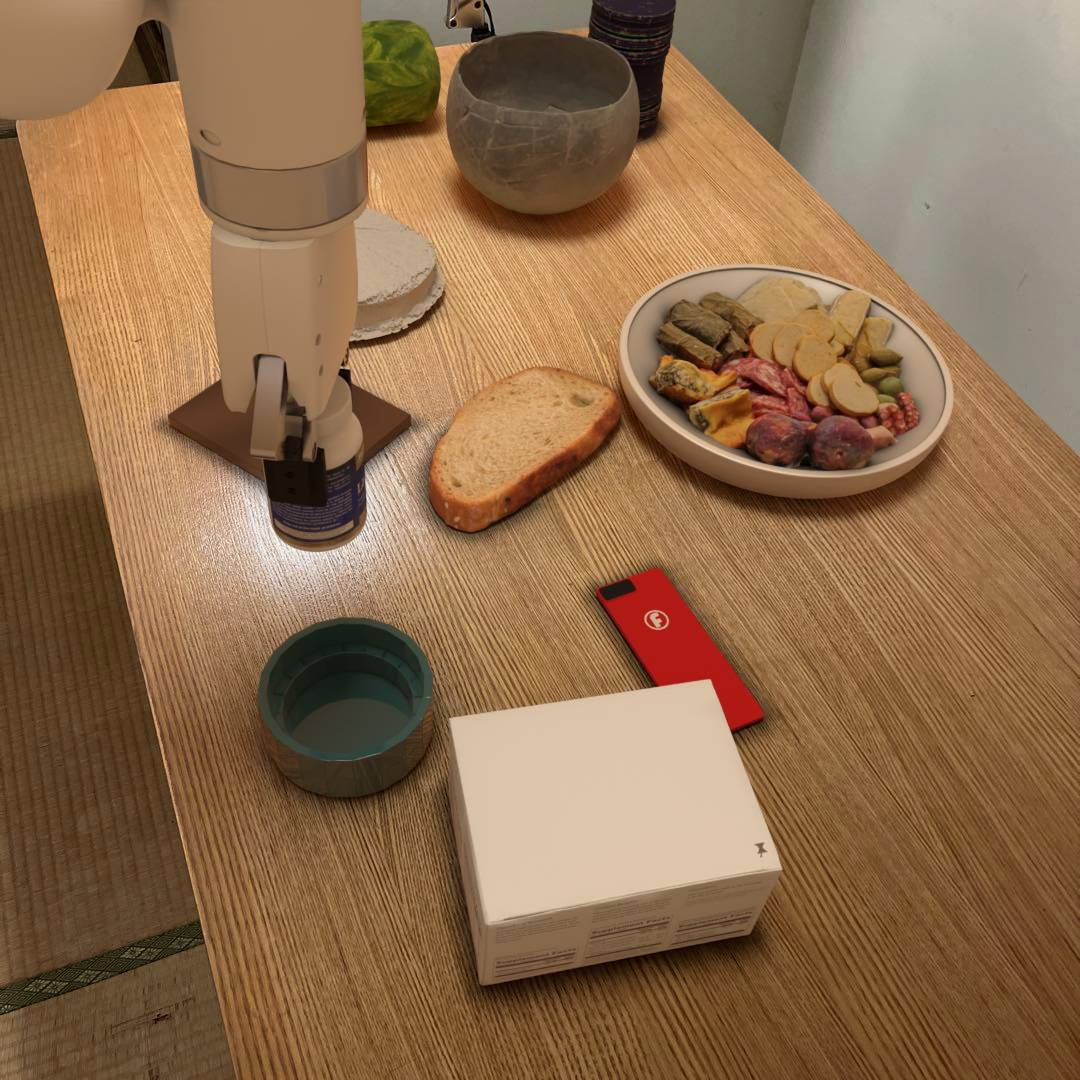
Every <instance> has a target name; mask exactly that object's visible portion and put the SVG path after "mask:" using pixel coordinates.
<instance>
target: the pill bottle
mask: <svg viewBox="0 0 1080 1080" xmlns="http://www.w3.org/2000/svg"><path fill="white" fill-rule="evenodd" d="M288 396H289V397H293V396H292V394H291V392H290V391H289V389H288ZM284 430H285V435H288V436H296V437H301V438H302V417H297V416H289V415H286V416H285V427H284ZM318 447H320V448H324V451H325V461H326V472H327V483H328V494H329V498H328V502H327V505H326V506H325V507H313V506H305V505H297V504H288V503H280V502H274V501H272V500H270V498H269V497H268V491H267V485H266V478H265V472H264V465H263V459H261V460H262V467H263V473H264V480H265V482H264V486H265V491H266V492H265V494H266V500H267V506H268V507H267V508H268V515H269V521H270V524H271V527H272V530H273V532H274V533H275V535H276V536H277V538H278V539H279V540H281V541H282V542H283V543H284V544H286V545H287V546H289V547H291V548H293V549H296V550H298V551H303V552H307V553H325V552H329V551H330V552H331V551H333V550H337V549H340V548H342V547H344V546H347V545H348V544H350V543H351V542H352V541H354V540H355V539H356V538H357V537H358V536H359V535H360V534H361V532H362V531H363V529H364V527H365V525H366V522H367V517H368V505H367V503H368V502H367V501H368V500H367V485H366V484H367V483H366V465H365V464H366V463H364V446H363V433H362V428H361V425H360V422H359V420H358V418H357V417H356V416H355V414H354V413H353V412H352V398H351V391H350V388H349V386H348V384H347V383H346V381H345V380H344V379H343V378H342V377H340V376H339V375H337V378H336V381H335V384H334V387H333V389H332V392H331V395H330V398H329V400H328V403H327V405H326V407H325V409H324V411H323V412H322V413H321V414H320V415H319V416H318Z"/></svg>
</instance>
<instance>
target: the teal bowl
mask: <svg viewBox="0 0 1080 1080" xmlns="http://www.w3.org/2000/svg"><path fill="white" fill-rule="evenodd" d="M256 696H257V697H256V698H257V702H258V705H259V712H260V716H261V720H262V725H263V729H264V734H265V738H266V743H267V747H268V753H269V755H270V757H271V759H272V760H273V762H274V763H275V765H276V766H277V768H278V769H279V770H280V772H281V774H283V776H285V778H287V779H288V780H290V781H291V782H292V783H294V784H295V785H297V786H298V787H300V788H301V789H303V790H306V791H309V792H311V793H315V794H319V795H322V796H325V797H329V798H359V797H363V796H366V795H370V794H373V793H378V792H380V791H381V792H382V791H384V790H386V789H387V788H389V787H391V786H392V785H394V784H395V783H397V782H399V781H400V780H402V779H403V778H405V777H406V776H408V775H409V773H410V772H411V771H412V770H413V769H414V768H415V767H416V765H417V764H418V763H419V762H420V761H421V760H422V758H424V755H425V754H426V751H427V749H428V746H429V743H430V741H431V739H432V737H433V728H434V674H433V671H432V669H431V665H430V662H429V660H428V657H427V655H426V653H425V652H424V651H423V649H422V648H421V647H420V646H419V644H417V643H416V641H415V640H414V639H413V638H412V637H411V636H410V635H408V634H407V633H406V632H404V631H402V630H401V629H399V628H398V627H396V626H394V625H393V624H390V623H387V622H384V621H379V620H376V619H372V618H369V617H359V616H358V617H356V616H341V617H340V616H339V617H334V618H330V619H326V620H322V621H321V620H320V621H317V622H313V623H312V624H310V625H308V626H306V627H304V628H302V629H300V630H299V631H296V632H294V633H293V634H291V635H290V636H289V637H288V638H287V639H285V640H284V641H283V642H282V643H281V644H280V645H279V646H278V647H276V648H275V649H274V650H273V651H272V652H271V655H270V656H269V658H268V660H267V661H266V664H265V665H264V667H263V668H262V671H261V672H260V677H259V682H258V688H257V693H256Z"/></svg>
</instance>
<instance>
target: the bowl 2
mask: <svg viewBox="0 0 1080 1080" xmlns="http://www.w3.org/2000/svg"><path fill="white" fill-rule="evenodd" d="M617 366H618V374H619V380H620V382H621V386H622V389H623V392H624V394H625V397H626V399H627V402H628V403H629V406H630V407H631V409H632V410H633V413H634V414H635V416H636V417H637V418H638V420H639V421H640V423H641V424H642V425H643V427H645V429H646V430H647V431H648V432H649V433H650V434H651V436H652V437H653V438H654V439H655V440H656V441H657V442H658V443H659V444H661V445H662V446H663V447H664V448H665V449H667V450H668V451H669V452H670V453H671V454H673V455H674V456H676V457H677V458H678V459H680V460H681V461H682V462H684V463H686V464H687V465H688V466H690V467H692V468H694V469H696V470H698V471H699V472H700V473H703V474H705V475H707V476H709V477H711V478H713V479H715V480H718V481H721V482H723V483H726V484H728V485H731V486H734V487H737V488H739V489H743V490H746V491H750V492H753V493H758V494H761V495H762V494H763V495H767V496H772V497H778V498H779V497H781V498H788V499H798V500H799V499H800V500H801V499H803V500H820V499H821V500H823V499H835V498H842V497H848V496H853V495H858V494H862V493H866V492H870V491H872V490H875V489H877V488H881V487H883V486H885V485H888V484H890V483H892V482H894V481H896V480H898V479H899V478H902V477H903V476H904V475H906V474H908V473H909V472H910V471H912V470H913V469H914V468H916V467H917V466H918V465H920V463H921V462H923V461H924V460H925V459H926V458H927V456H928V455H930V453H931V452H932V451H933V450H934V449H935V447H936V446H937V444H938V443H939V442H940V440H941V438H942V436H943V434H944V433H945V431H946V428H947V427H948V424H949V423H950V420H951V418H952V414H953V410H954V402H955V390H954V384H953V379H952V375H951V373H950V370H949V367H948V365H947V363H946V361H945V359H944V357H943V355H942V354H941V352H940V350H939V349H938V348H937V346H936V344H934V342H933V341H932V340H931V338H930V337H929V336H928V335H927V334H926V333H925V332H924V331H923V330H922V328H921V327H919V325H917V324H916V323H915V322H914V321H912V320H911V319H910V318H909V317H908V316H907V315H905V314H904V313H903V312H901V311H900V310H898V309H897V308H896V307H894V306H893V305H891V304H890V303H888V302H887V301H885V300H883V299H882V298H880V297H878V296H876V295H875V294H872V293H870V292H868V291H867V290H865V289H862V288H859V287H858V286H855V285H853V284H851V283H848V282H845V281H843V280H840V279H837V278H835V277H832V276H829V275H825V274H821V273H818V272H814V271H810V270H806V269H803V268H797V267H792V266H791V267H790V266H785V265H777V264H767V263H727V264H725V263H724V264H717V265H711V266H705V267H700V268H697V269H692V270H689V271H686V272H682V273H679V274H677V275H674V276H672V277H670V278H667V279H665V280H663V281H662V282H660V283H658V284H656V285H655V286H653V287H651V288H650V289H648V291H646V292H645V293H644V294H643V295H642V296H641V297H640V298H638V300H636V302H635V303H634V304H633V306H631V308H630V309H629V311H628V313H627V315H626V317H625V318H624V321H623V323H622V326H621V329H620V334H619V340H618V350H617Z"/></svg>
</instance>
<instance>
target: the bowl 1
mask: <svg viewBox="0 0 1080 1080" xmlns="http://www.w3.org/2000/svg"><path fill="white" fill-rule="evenodd" d="M446 95H447V96H446V103H445V127H446V133H447V134H446V135H447V140H448V144H449V148H450V151H451V153H452V154H451V155H452V156H453V160H454V161H455V163H456V165H457V168H458V169H459V170H460V172H461V174H462V176H463V177H464V179H465V180H466V181H467V182H468V183H469V184H470V185H471V186H472V187H473V188H474V189H476V191H477V192H479V193H480V194H481V195H483V196H484V197H486V198H487V199H489V200H490V201H492V202H493V203H495V204H496V205H499V206H501V207H503V208H505V209H506V210H508V211H513V212H517V213H519V214H520V213H521V214H525V215H534V216H535V215H538V216H544V215H547V216H548V215H558V214H562V213H563V214H564V213H566V212H569V211H573V210H576V209H579V208H581V207H583V206H585V205H587V204H589V203H591V202H593V201H594V200H596V199H598V198H599V197H601V196H602V195H604V193H606V192H607V191H608V190H609V189H610V188H611V187H612V186H613V185H614V184H615V183H616V182H617V181H618V179H620V177H621V176H622V174H623V173H624V171H625V170H626V168H627V166H628V164H629V162H630V160H631V158H632V156H633V153H634V150H635V147H636V144H637V142H638V141H637V135H638V130H639V119H640V108H639V97H638V90H637V85H636V81H635V78H634V74H633V72H632V69H631V67H630V65H629V63H628V61H627V60H626V58H625V57H624V56H623V55H622V54H620V53H619V52H618V51H616V50H615V49H613V48H612V47H610V46H609V45H607V44H605V43H602V42H600V41H598V40H595V39H591V38H588V36H585V35H580V34H576V33H568V32H558V31H548V30H526V31H525V30H524V31H514V32H508V33H503V34H498V35H493V36H490V37H487V38H484V39H481V40H479V41H477V42H475V43H474V44H472V45H470V47H469V48H468V49H466V50H465V51H464V52H463V53H462V54H461V56H460V57H459V58H458V59H457V62H456V64H455V66H454V68H453V70H452V74H451V77H450V81H449V84H448V88H447V94H446ZM636 141H637V142H636Z"/></svg>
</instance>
